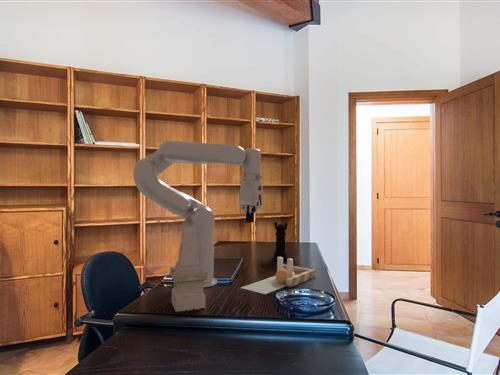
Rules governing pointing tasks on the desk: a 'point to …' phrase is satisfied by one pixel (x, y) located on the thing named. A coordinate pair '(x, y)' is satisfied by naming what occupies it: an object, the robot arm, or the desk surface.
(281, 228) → the chess piece
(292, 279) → the backstop
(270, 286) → the lane
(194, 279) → the miniature monument
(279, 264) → the pin
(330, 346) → the desk surface
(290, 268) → the pin
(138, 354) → the desk surface
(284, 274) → the ball
